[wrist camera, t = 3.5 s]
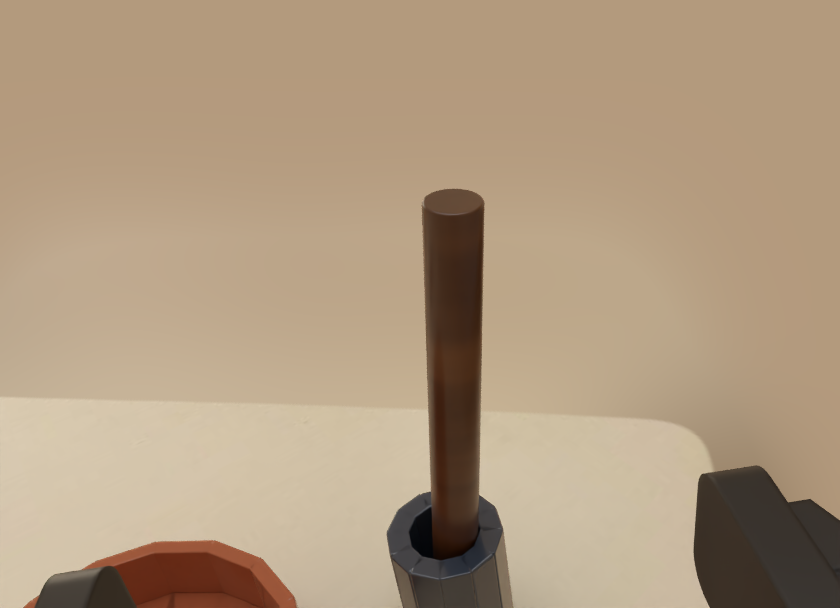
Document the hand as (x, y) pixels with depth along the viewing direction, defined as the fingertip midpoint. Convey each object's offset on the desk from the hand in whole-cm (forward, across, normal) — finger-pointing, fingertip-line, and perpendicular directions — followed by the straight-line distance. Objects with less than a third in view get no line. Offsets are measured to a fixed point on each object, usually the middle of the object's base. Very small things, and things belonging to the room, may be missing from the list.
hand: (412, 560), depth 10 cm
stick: (+11, 0, +18) cm, 21 cm away
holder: (+11, 0, +19) cm, 22 cm away
